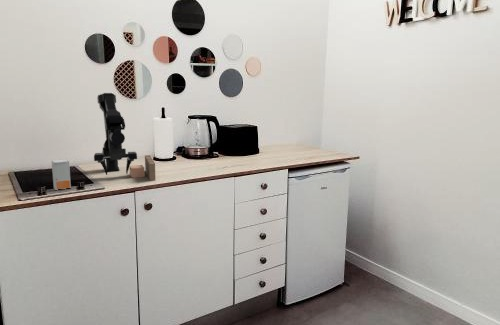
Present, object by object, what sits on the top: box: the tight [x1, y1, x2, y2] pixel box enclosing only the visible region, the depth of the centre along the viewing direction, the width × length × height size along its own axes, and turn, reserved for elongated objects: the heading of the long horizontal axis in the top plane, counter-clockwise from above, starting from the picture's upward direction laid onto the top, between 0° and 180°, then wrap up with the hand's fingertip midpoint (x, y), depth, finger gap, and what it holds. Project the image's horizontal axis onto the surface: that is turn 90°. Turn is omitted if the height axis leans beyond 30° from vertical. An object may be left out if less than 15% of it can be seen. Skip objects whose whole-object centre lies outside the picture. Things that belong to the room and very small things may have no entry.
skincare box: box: [51, 158, 72, 191], centre depth 151 cm, size 6×4×12 cm
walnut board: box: [144, 154, 156, 181], centre depth 177 cm, size 21×2×8 cm, turn 21°
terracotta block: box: [129, 164, 146, 179], centre depth 175 cm, size 6×6×4 cm
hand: (116, 174), depth 172 cm, fingers open, 9 cm apart
